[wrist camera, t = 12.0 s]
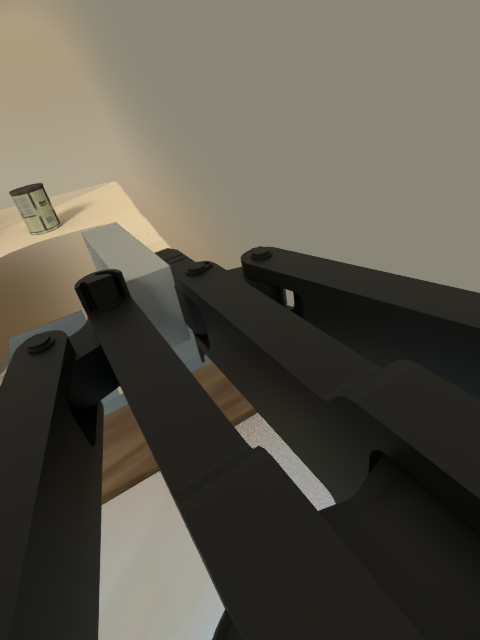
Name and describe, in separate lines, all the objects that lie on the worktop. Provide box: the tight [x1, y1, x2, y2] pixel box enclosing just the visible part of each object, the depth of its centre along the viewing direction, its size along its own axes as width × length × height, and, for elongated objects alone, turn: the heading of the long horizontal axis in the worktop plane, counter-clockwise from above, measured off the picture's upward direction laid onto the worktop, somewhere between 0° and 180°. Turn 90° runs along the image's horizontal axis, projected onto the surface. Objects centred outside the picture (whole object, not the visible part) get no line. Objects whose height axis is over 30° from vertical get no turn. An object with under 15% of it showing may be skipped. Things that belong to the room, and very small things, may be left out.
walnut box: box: [102, 361, 258, 505], centre depth 40 cm, size 18×20×9 cm
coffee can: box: [9, 183, 61, 235], centre depth 122 cm, size 10×10×14 cm
